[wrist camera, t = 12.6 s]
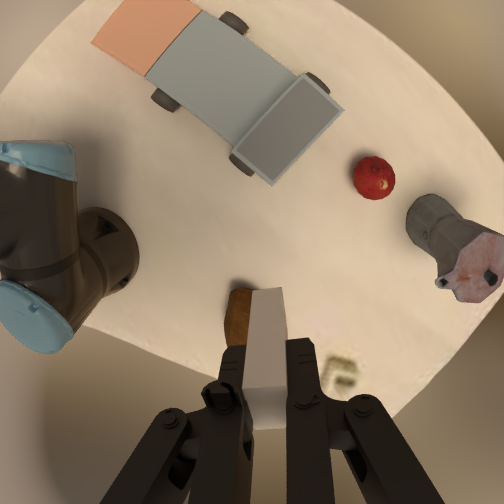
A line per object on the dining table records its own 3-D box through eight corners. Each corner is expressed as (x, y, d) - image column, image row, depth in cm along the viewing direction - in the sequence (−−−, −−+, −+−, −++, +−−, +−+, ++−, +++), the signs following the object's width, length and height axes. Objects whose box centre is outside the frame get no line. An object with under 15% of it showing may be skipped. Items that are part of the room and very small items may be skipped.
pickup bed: (337, 104, 37) (356, 99, 28) (263, 183, 42) (260, 199, 33) (217, 10, 32) (203, -16, 23) (147, 90, 37) (117, 84, 29)
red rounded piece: (344, 156, 40) (360, 163, 33) (381, 151, 39) (403, 158, 32) (349, 195, 42) (365, 211, 35) (385, 190, 41) (407, 204, 34)
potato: (283, 286, 49) (285, 318, 41) (269, 341, 54) (268, 376, 46) (231, 277, 49) (224, 308, 41) (223, 334, 54) (216, 368, 46)
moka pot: (382, 206, 42) (448, 264, 24) (461, 177, 39) (545, 217, 21) (394, 259, 46) (450, 336, 27) (468, 230, 43) (539, 285, 24)
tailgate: (202, 9, 29) (146, -24, 25) (144, 77, 33) (90, 43, 29) (203, 12, 30) (148, -21, 26) (146, 77, 35) (94, 44, 30)
